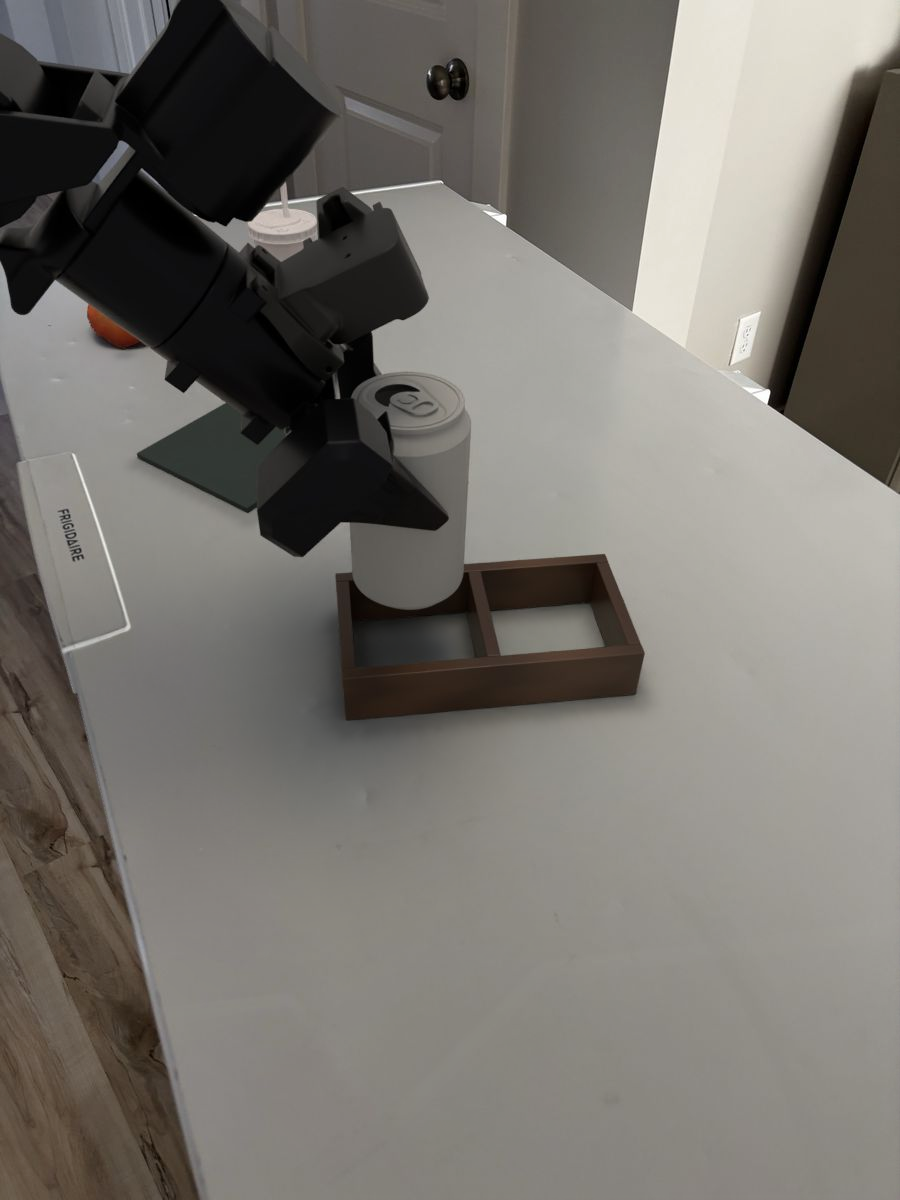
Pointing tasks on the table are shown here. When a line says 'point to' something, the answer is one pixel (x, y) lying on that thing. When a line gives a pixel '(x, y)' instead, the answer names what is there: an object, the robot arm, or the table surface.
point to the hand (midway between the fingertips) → (433, 485)
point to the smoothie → (283, 229)
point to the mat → (215, 456)
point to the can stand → (489, 672)
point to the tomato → (109, 329)
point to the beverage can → (441, 464)
